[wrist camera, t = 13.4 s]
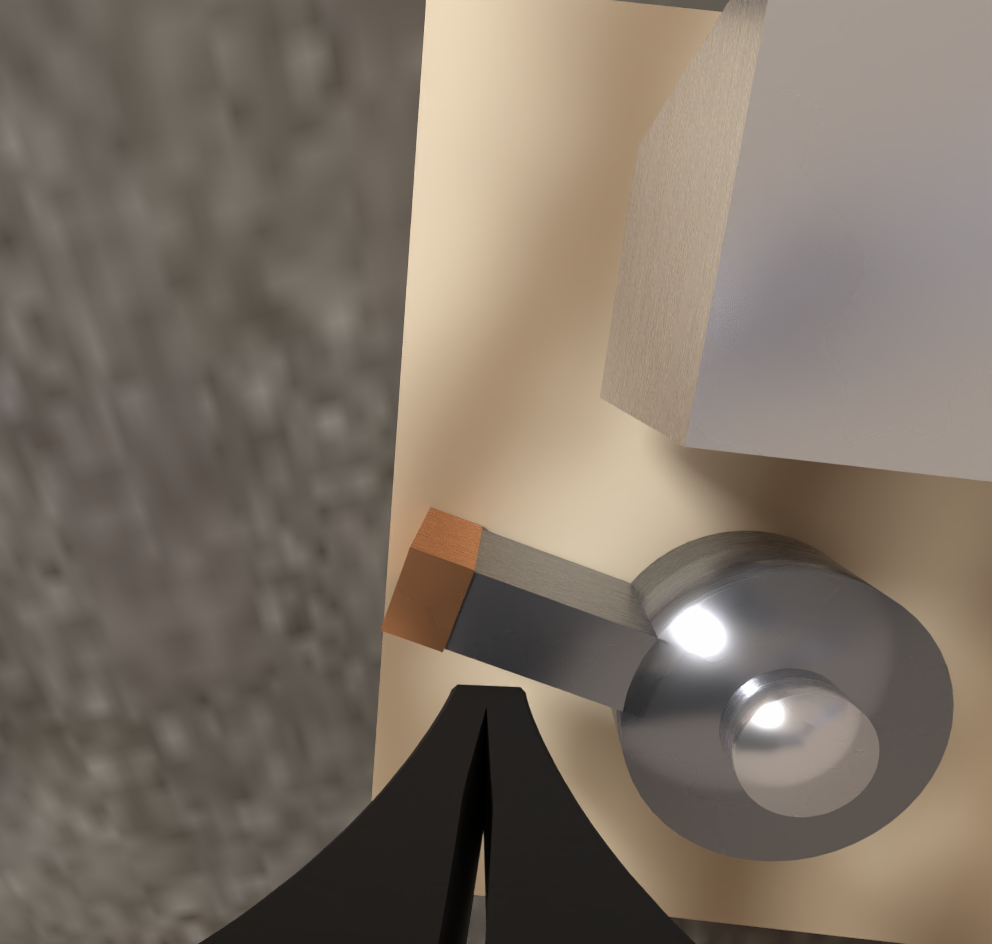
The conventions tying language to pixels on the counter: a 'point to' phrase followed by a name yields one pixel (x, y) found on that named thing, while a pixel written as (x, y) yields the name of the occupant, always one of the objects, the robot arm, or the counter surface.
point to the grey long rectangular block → (817, 240)
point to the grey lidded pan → (708, 675)
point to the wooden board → (640, 462)
